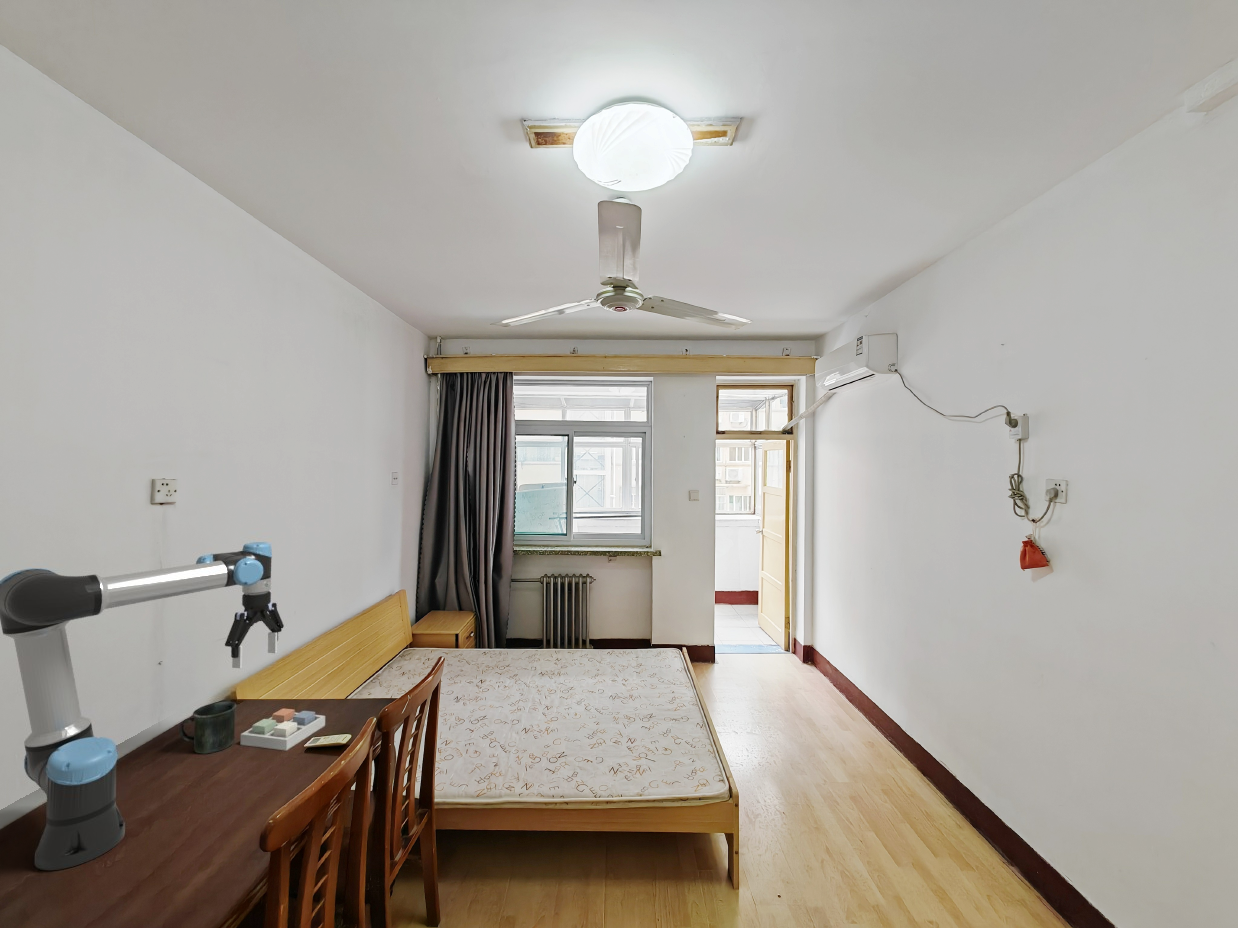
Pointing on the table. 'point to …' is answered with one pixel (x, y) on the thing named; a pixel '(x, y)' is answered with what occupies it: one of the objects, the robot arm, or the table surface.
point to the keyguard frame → (282, 742)
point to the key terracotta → (283, 715)
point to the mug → (212, 727)
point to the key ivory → (285, 729)
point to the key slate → (304, 717)
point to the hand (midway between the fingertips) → (255, 659)
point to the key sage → (263, 726)
